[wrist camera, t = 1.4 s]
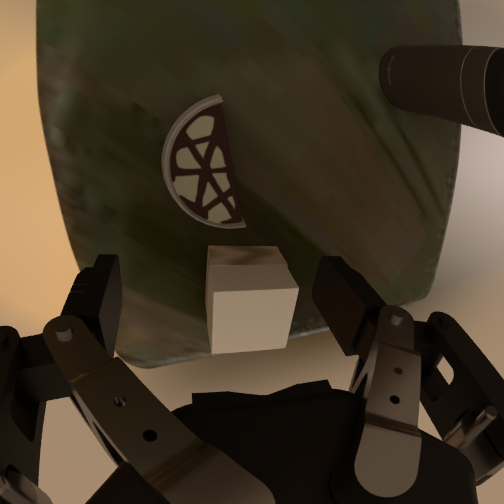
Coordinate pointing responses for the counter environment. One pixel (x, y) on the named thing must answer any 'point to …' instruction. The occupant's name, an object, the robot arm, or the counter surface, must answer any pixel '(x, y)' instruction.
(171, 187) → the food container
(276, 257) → the tower base block
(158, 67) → the counter surface
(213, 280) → the tower top block
